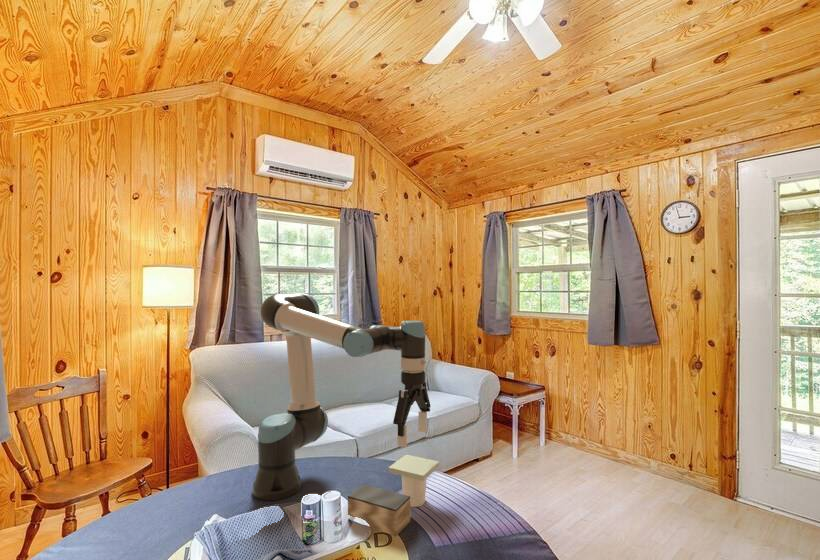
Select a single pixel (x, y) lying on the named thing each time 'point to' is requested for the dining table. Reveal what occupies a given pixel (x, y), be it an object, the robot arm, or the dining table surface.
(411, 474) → the cover board
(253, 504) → the dining table surface
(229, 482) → the dining table surface
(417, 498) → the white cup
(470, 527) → the dining table surface
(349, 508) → the stand
